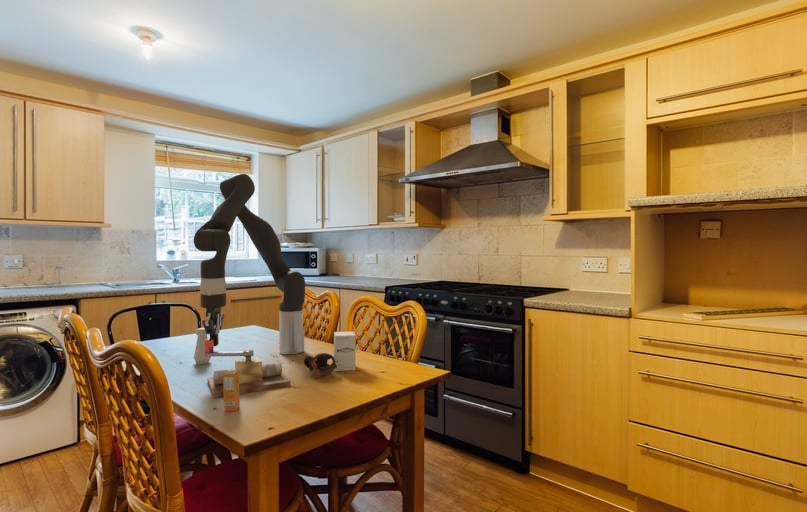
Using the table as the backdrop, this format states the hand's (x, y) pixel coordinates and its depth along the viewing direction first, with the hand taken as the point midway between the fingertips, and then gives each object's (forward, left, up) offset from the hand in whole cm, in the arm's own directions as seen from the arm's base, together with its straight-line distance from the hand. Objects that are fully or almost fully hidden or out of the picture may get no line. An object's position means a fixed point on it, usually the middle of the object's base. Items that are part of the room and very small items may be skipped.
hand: (214, 345), depth 136 cm
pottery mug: (-32, +10, -12) cm, 35 cm away
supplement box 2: (-42, +7, -12) cm, 44 cm away
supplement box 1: (-1, +27, -12) cm, 30 cm away
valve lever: (-4, +6, -3) cm, 7 cm away
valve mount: (-9, +8, -12) cm, 17 cm away
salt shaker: (+1, -25, -12) cm, 27 cm away
